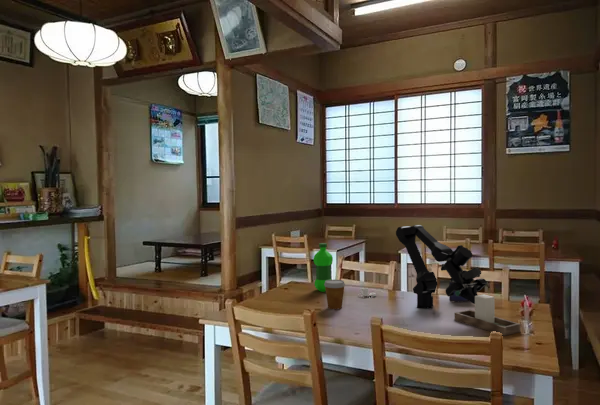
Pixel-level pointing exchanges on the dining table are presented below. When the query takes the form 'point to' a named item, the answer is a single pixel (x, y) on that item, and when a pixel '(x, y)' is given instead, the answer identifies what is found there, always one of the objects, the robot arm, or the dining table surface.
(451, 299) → the flask
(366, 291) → the teacup and saucer
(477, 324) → the walnut box
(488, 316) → the cream block
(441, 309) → the dining table surface
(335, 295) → the disposable coffee cup
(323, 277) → the plastic bottle
